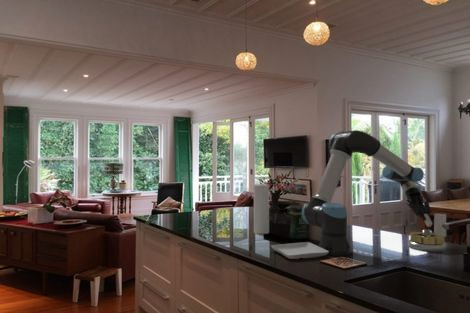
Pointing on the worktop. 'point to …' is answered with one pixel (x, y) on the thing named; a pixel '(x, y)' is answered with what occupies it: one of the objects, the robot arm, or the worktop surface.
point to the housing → (427, 246)
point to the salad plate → (300, 250)
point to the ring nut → (436, 236)
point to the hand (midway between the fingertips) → (429, 225)
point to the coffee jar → (297, 223)
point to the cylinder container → (261, 209)
